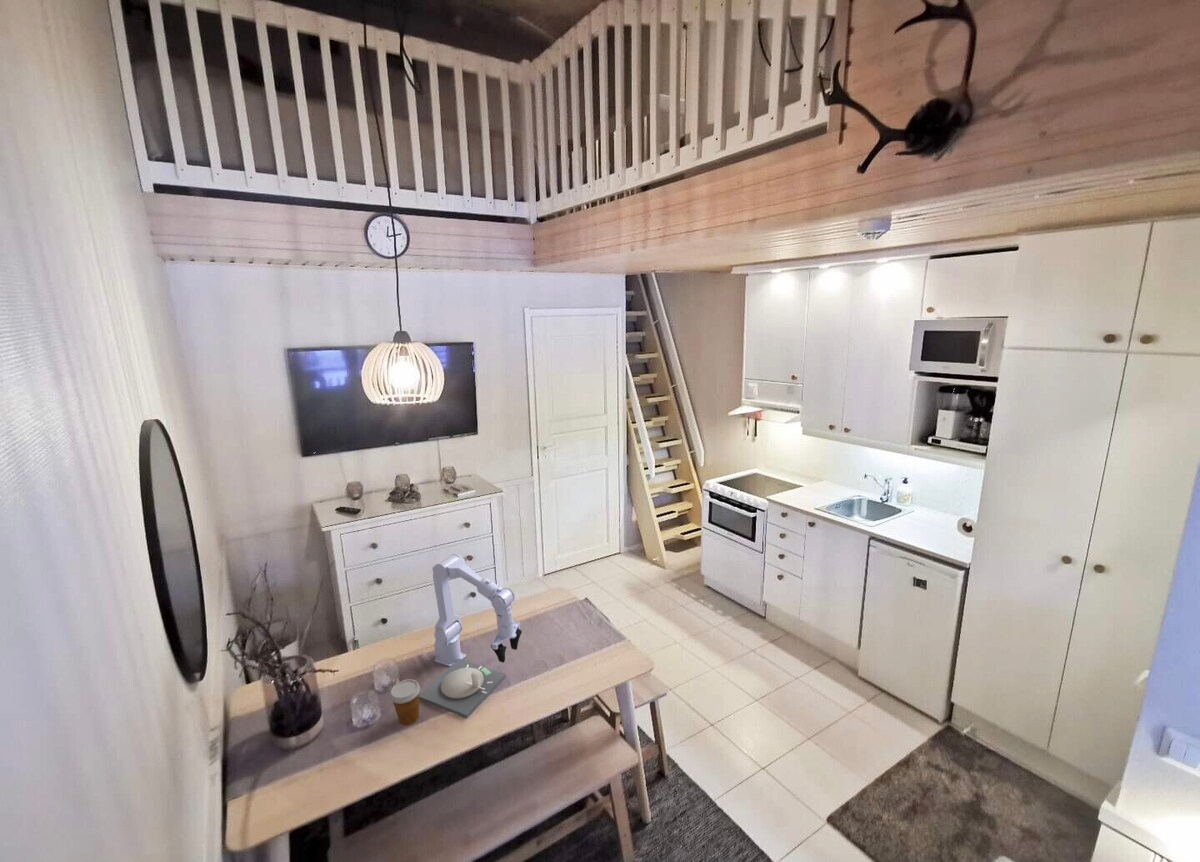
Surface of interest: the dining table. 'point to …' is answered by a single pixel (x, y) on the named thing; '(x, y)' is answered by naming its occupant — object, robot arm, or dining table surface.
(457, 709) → the tuner board
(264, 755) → the dining table surface
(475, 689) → the beige oval dome
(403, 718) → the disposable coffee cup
